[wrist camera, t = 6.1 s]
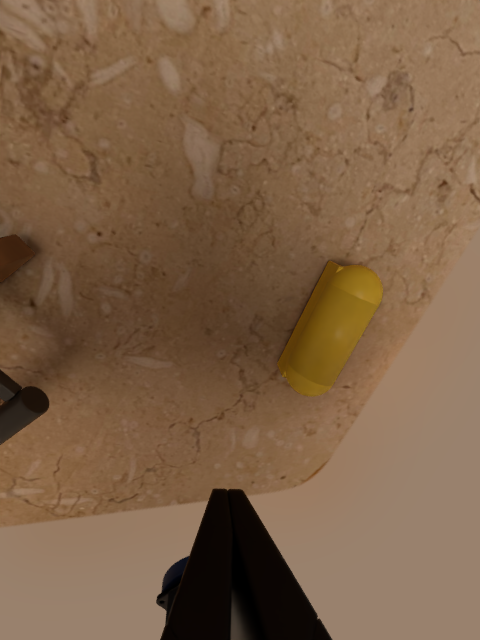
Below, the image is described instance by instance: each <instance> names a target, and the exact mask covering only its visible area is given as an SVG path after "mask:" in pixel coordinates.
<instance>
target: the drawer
mask: <svg viewBox="0 0 480 640" xmlns="http://www.w3.org/2000/svg"><path fill="white" fill-rule="evenodd" d="M34 255H35V253H34V252H33V251H32V250H31V249H30V248H29V247H28V246H27V245H26V244H25V243H24V242H23V241H22V240H21V239H20V238H19V237H18V236H17V235H16V234H15V235H11V236H6V237H1V238H0V283H1V282H2V281H3V280H5V279H6V278H7V277H8V276H10V275H11V274H12V273H13V272H14V271H16V270H17V269H18V268H19V267H20V266H22V265H23V264H24V263H25V262H27V261H28V260H29V259H30V258H31V257H33V256H34ZM21 389H22V387H21V386H20V385H18V384H17V383H16V382H15V381H13V380H12V379H11V378H10V377H9V376H7V375H6V374H5V373H4V372H2V371H1V370H0V398H1V399H2V400H3V401H5V402H4V403H3V404H2V405H0V445H1V444H2V443H4V442H5V441H7V440H8V439H9V438H11V437H12V436H13V435H15V434H16V433H18V432H19V431H20V430H22V429H23V428H24V427H26V426H27V425H29V424H30V423H31V422H33V421H34V420H35V419H37V418H38V417H40V416H41V415H42V414H44V413H45V412H46V411H47V410H48V408H49V399H48V397H47V395H46V394H45V393H44V392H43V391H42V390H41V389H39V388H37V387H33V386H29V387H25V388H23V389H22V390H21Z"/></svg>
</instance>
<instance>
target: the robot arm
mask: <svg viewBox="0 0 480 640" xmlns="http://www.w3.org/2000/svg"><path fill="white" fill-rule="evenodd" d="M156 603H157V604H158V605H159V606H161V607H162V608H164V609H165V610H167V614H166V624H165V627H164V630H163V633H162V636H161V639H160V640H332V638H331V637H330V635H329V633H328V632H327V630H326V628H325V627H324V625H323V624H322V621H321V620H320V619H317V617H318V616H317V613H316V612H315V610H314V608H313V607H312V605H311V603H310V602H309V600H308V598H307V597H306V595H305V593H304V592H303V590H302V588H301V587H300V585H299V583H298V582H297V580H296V578H295V577H294V575H293V573H292V571H291V570H290V568H289V567H288V565H287V563H286V562H285V560H284V558H283V557H282V555H281V553H280V552H279V550H278V548H277V547H276V545H275V543H274V541H273V540H272V538H271V537H270V535H269V533H268V531H267V530H266V528H265V526H264V525H263V523H262V521H261V520H260V518H259V516H258V515H257V513H256V511H255V510H254V508H253V506H252V505H251V503H250V501H249V500H248V498H247V496H246V495H245V493H244V491H243V490H241V489H229V490H228V491H227V490H226V489H213V490H212V493H211V495H210V498H209V501H208V504H207V507H206V510H205V513H204V516H203V518H202V521H201V524H200V527H199V530H198V533H197V536H196V539H195V542H194V544H193V547H192V550H191V553H190V556H189V559H188V562H187V565H186V567H185V570H184V573H183V576H182V579H181V582H179V583H177V584H176V585H174V586H172V587H171V588H169V589H167V590H165V591H164V592H162V593H160V594H159V595H158V596H157V601H156Z"/></svg>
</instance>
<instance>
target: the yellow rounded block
mask: <svg viewBox="0 0 480 640" xmlns="http://www.w3.org/2000/svg"><path fill="white" fill-rule="evenodd" d="M382 296H383V287H382V283H381V281H380V278H379V277H378V276H377V274H376V273H375V272H373V271H372V270H371V269H369V268H367V267H365V266H362V265H348V266H344V267H343V266H341V265H338V264H336V263H334V262H331V261H328V263H327V265H326V267H325V269H324V271H323V273H322V275H321V277H320V279H319V281H318V283H317V285H316V287H315V289H314V291H313V293H312V295H311V297H310V299H309V301H308V303H307V305H306V307H305V309H304V311H303V313H302V315H301V317H300V319H299V321H298V323H297V325H296V327H295V329H294V331H293V333H292V335H291V337H290V339H289V341H288V343H287V345H286V347H285V349H284V351H283V353H282V355H281V357H280V359H279V361H278V363H277V365H278V367H279V370H280V372H281V374H282V376H283V377H285V378H287V381H288V382H289V384H290V386H291V387H292V388H293V389H294V390H295V391H296V392H298V393H300V394H302V395H305V396H319V395H322V394H324V393H326V392H327V391H328V390H329V389H330V388H331V387H332V386H333V384H334V382H335V381H336V379H337V377H338V375H339V374H340V372H341V370H342V369H343V367H344V365H345V363H346V362H347V360H348V358H349V356H350V355H351V353H352V351H353V350H354V348H355V346H356V344H357V343H358V341H359V339H360V337H361V336H362V334H363V332H364V330H365V329H366V327H367V325H368V324H369V322H370V320H371V318H372V317H373V315H374V313H375V311H376V310H377V308H378V306H379V305H380V302H381V300H382Z"/></svg>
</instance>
